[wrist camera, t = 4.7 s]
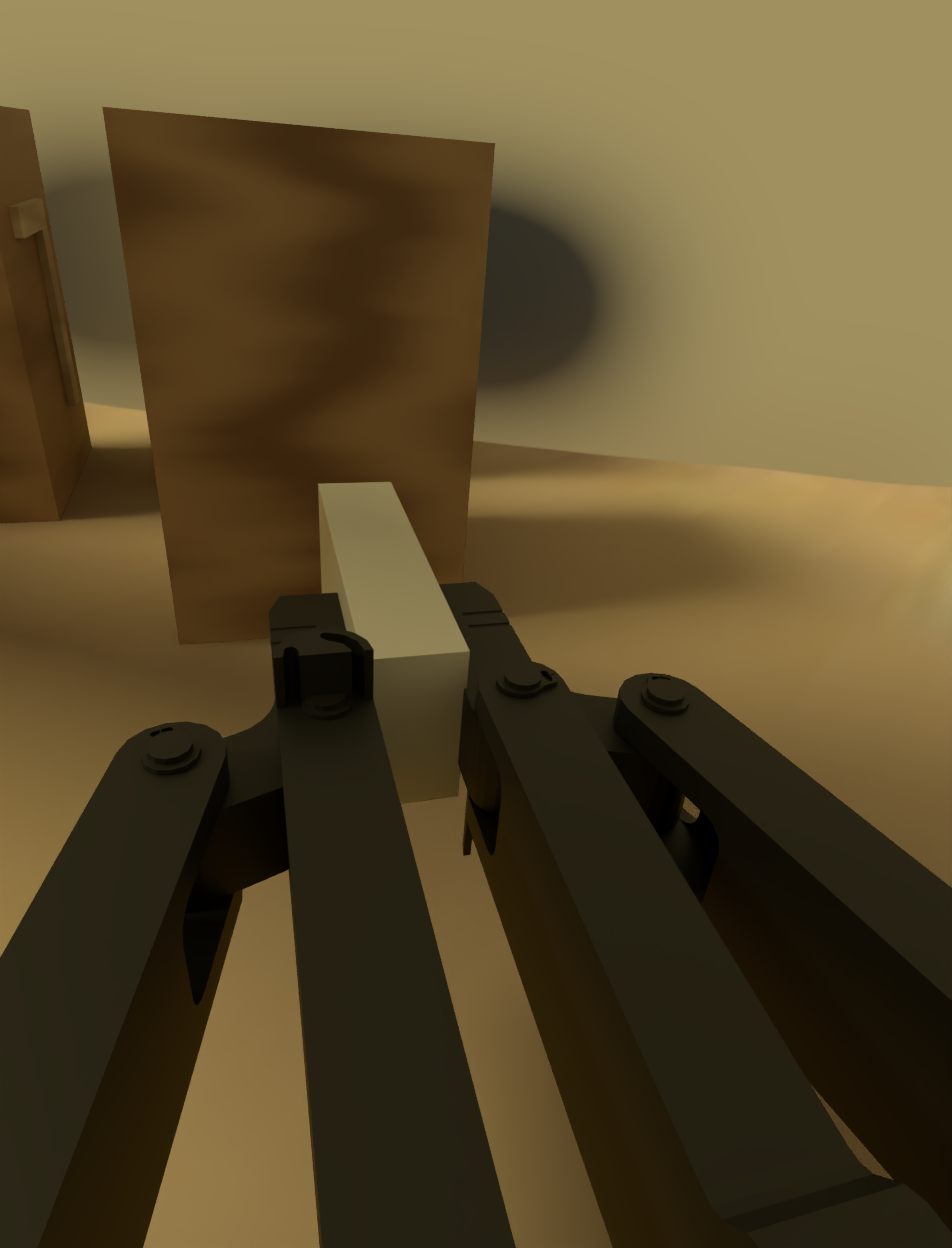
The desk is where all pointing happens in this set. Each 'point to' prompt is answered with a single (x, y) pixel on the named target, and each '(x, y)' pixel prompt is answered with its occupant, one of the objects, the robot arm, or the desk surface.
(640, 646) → the desk surface
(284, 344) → the plain block
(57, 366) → the block seven
